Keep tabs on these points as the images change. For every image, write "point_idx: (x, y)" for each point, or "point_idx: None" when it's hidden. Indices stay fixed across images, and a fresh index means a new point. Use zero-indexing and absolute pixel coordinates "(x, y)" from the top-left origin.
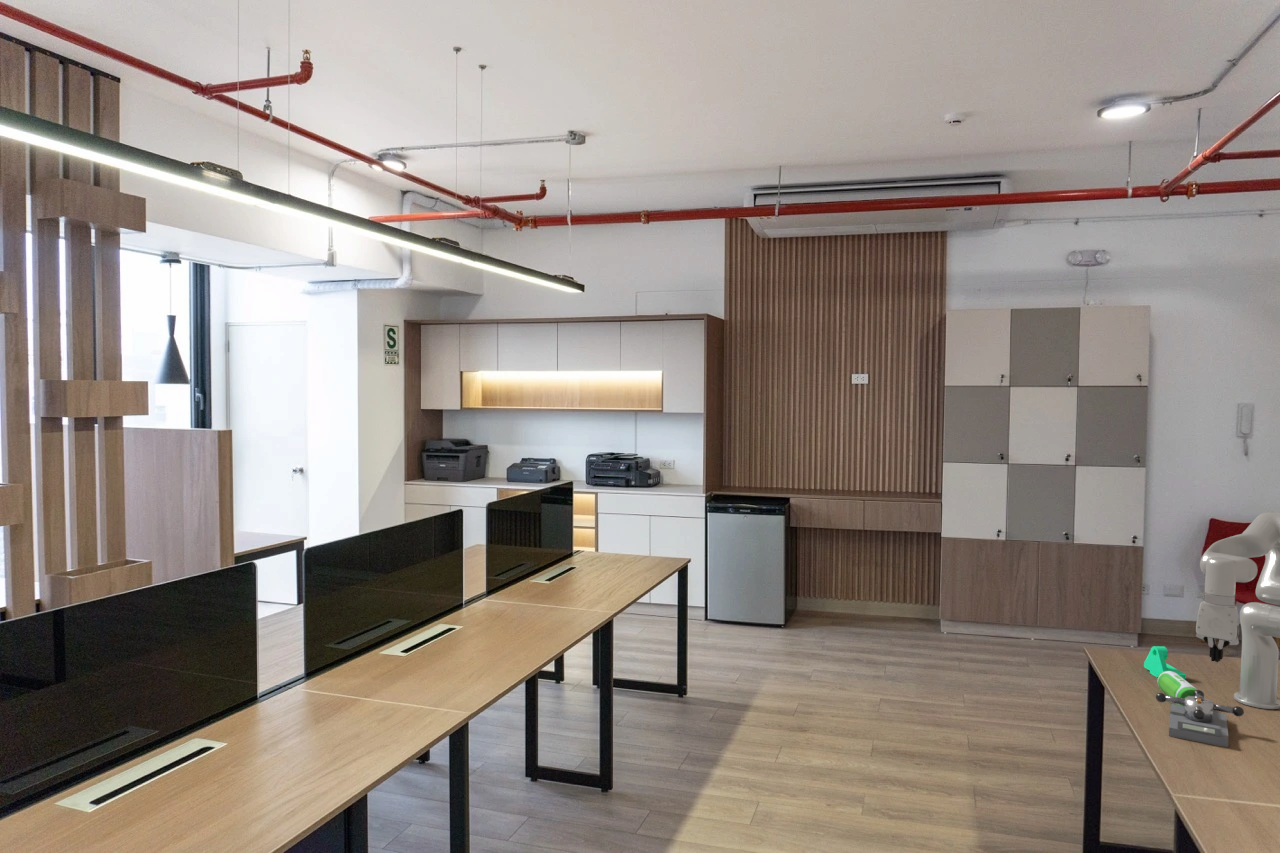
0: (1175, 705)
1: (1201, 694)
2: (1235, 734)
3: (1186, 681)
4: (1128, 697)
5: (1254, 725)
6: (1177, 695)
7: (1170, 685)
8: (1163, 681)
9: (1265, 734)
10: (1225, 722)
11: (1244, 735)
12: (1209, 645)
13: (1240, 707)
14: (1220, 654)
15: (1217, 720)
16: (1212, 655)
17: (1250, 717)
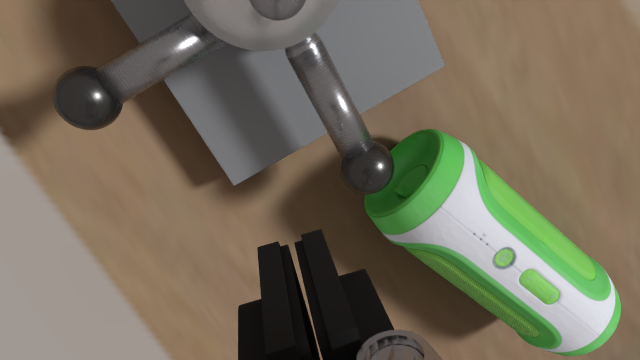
0: (419, 59)
1: (346, 157)
2: (110, 50)
3: (488, 272)
4: (618, 61)
5: (153, 246)
6: (457, 141)
7: (529, 210)
8: (575, 247)
9: (58, 186)
10: None
11: None
12: (415, 353)
13: (66, 105)
14: (248, 335)
15: None
16: (320, 261)
17: (219, 316)
